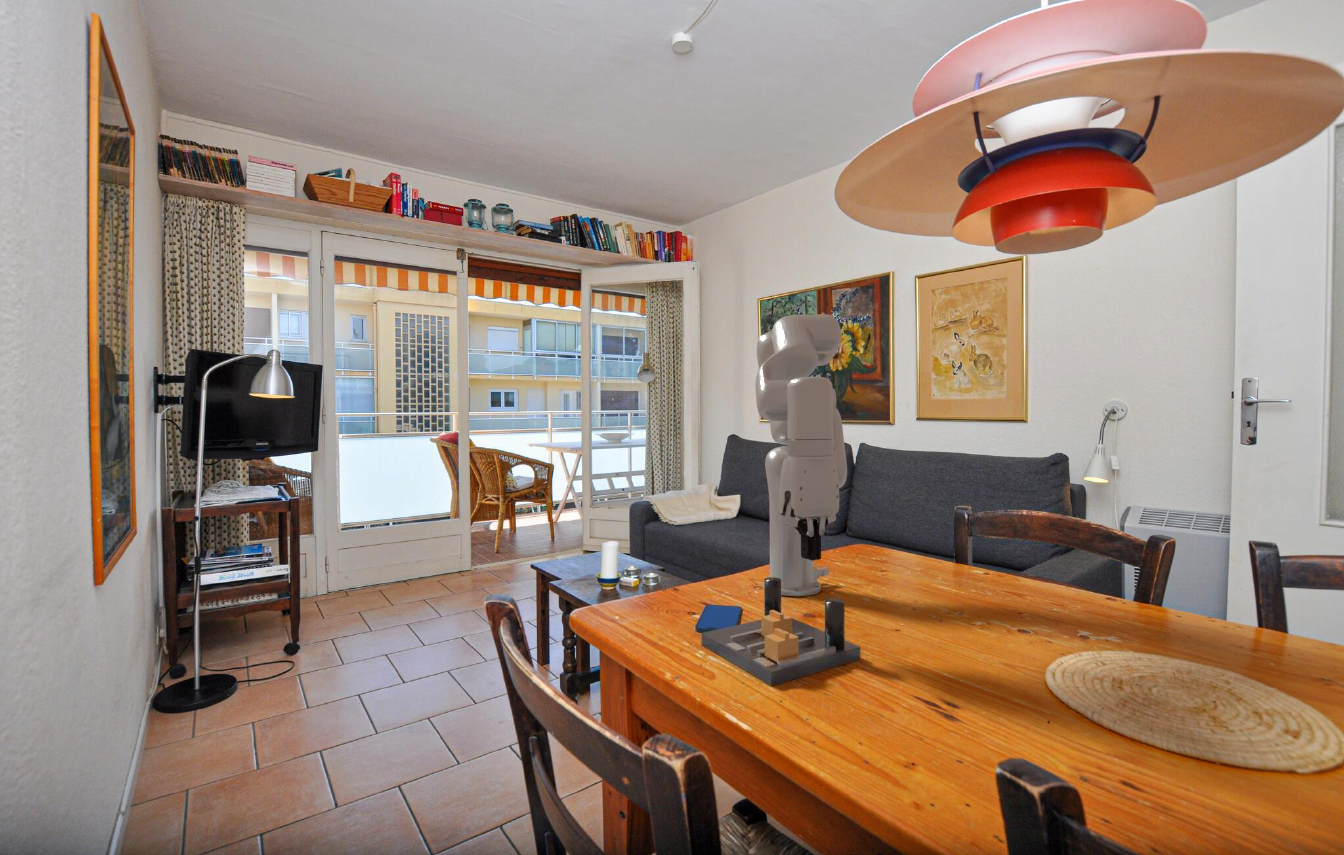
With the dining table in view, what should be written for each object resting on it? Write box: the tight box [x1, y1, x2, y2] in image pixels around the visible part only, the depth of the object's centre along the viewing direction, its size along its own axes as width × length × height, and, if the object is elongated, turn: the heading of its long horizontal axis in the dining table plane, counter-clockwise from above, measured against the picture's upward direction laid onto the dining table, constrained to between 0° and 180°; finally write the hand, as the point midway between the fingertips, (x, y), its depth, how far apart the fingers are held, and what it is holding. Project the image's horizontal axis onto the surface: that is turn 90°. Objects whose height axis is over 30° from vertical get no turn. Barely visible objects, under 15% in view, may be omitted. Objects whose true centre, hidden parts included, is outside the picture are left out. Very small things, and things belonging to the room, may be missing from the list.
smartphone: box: [694, 604, 743, 633], centre depth 113 cm, size 7×1×15 cm
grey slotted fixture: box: [701, 576, 861, 687], centre depth 98 cm, size 18×19×9 cm
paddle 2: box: [765, 628, 798, 662], centre depth 90 cm, size 4×3×4 cm
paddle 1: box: [760, 610, 793, 636], centre depth 98 cm, size 4×3×4 cm
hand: (810, 558), depth 101 cm, fingers closed
